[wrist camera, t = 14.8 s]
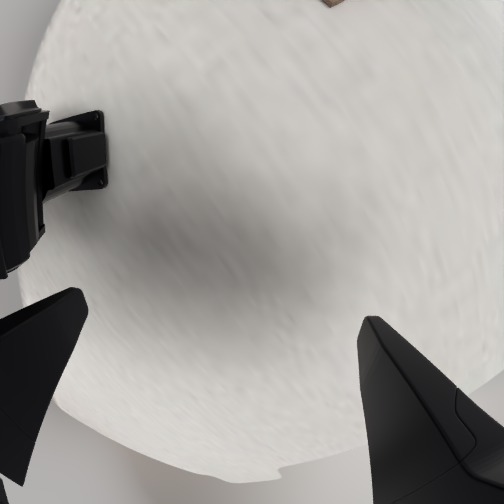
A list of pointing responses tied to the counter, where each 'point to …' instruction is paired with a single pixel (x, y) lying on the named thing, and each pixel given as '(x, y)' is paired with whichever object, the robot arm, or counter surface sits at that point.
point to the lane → (332, 2)
